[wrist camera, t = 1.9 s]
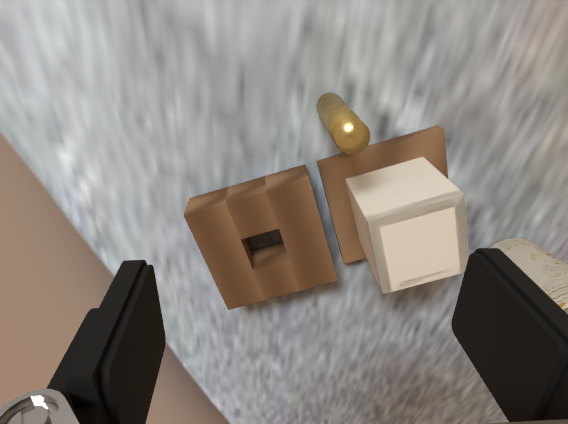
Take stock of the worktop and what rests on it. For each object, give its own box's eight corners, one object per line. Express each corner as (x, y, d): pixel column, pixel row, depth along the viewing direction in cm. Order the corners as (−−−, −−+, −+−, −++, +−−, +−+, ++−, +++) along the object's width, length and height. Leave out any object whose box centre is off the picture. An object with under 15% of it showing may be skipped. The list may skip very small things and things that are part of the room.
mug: (490, 217, 36) (568, 287, 27) (601, 245, 38) (706, 318, 29) (448, 288, 39) (504, 370, 31) (552, 309, 42) (632, 392, 33)
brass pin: (339, 89, 29) (367, 116, 22) (345, 115, 30) (372, 148, 23) (313, 97, 30) (333, 126, 23) (320, 122, 31) (340, 158, 23)
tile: (438, 125, 31) (475, 150, 26) (448, 228, 36) (481, 267, 31) (316, 160, 32) (329, 192, 27) (342, 257, 37) (356, 300, 31)
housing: (423, 156, 31) (464, 194, 25) (431, 222, 34) (469, 271, 28) (345, 179, 32) (367, 221, 26) (359, 242, 35) (382, 294, 29)
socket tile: (304, 164, 32) (309, 179, 29) (331, 260, 37) (337, 280, 34) (189, 198, 33) (183, 215, 30) (230, 288, 37) (228, 309, 35)
